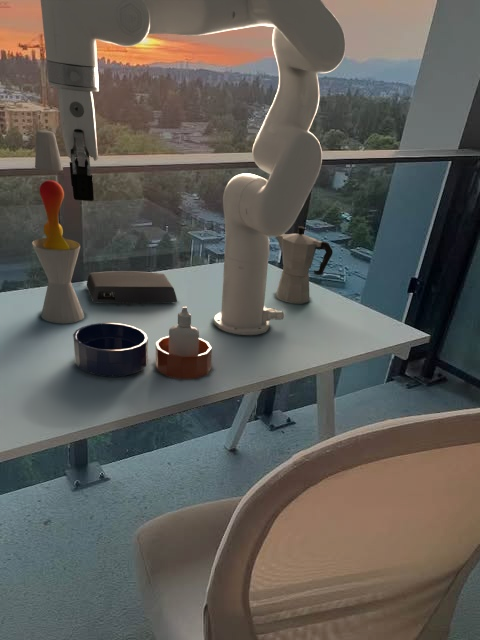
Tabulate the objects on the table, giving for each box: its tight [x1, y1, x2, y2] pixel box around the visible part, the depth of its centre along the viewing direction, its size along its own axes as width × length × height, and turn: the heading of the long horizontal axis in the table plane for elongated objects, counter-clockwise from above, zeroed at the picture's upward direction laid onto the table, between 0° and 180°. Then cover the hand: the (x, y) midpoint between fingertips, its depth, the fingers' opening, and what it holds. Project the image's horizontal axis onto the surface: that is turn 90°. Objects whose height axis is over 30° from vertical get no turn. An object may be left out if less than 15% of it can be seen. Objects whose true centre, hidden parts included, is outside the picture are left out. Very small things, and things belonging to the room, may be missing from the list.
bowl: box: [72, 322, 149, 378], centre depth 116 cm, size 13×13×6 cm
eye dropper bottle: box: [168, 306, 200, 356], centre depth 117 cm, size 4×6×12 cm
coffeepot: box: [275, 226, 333, 305], centre depth 158 cm, size 15×9×18 cm, turn 72°
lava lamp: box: [31, 129, 86, 324], centre depth 123 cm, size 9×9×35 cm
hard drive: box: [86, 270, 178, 304], centre depth 147 cm, size 13×19×4 cm
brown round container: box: [154, 335, 213, 380], centre depth 119 cm, size 10×10×4 cm
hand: (82, 193), depth 108 cm, fingers open, 9 cm apart
